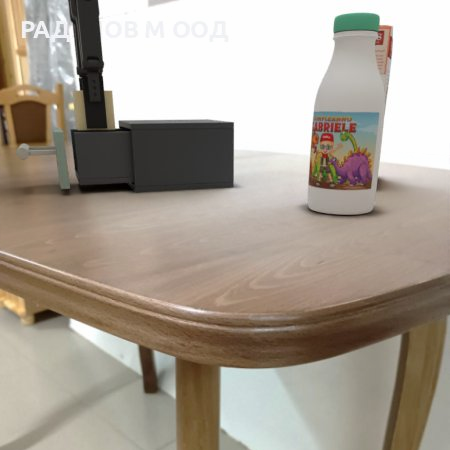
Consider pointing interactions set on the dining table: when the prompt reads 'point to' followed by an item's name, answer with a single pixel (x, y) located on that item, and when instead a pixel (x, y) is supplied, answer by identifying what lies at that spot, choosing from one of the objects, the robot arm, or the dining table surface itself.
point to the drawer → (90, 156)
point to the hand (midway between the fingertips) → (95, 127)
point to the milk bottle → (348, 121)
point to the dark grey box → (181, 154)
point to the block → (80, 111)
